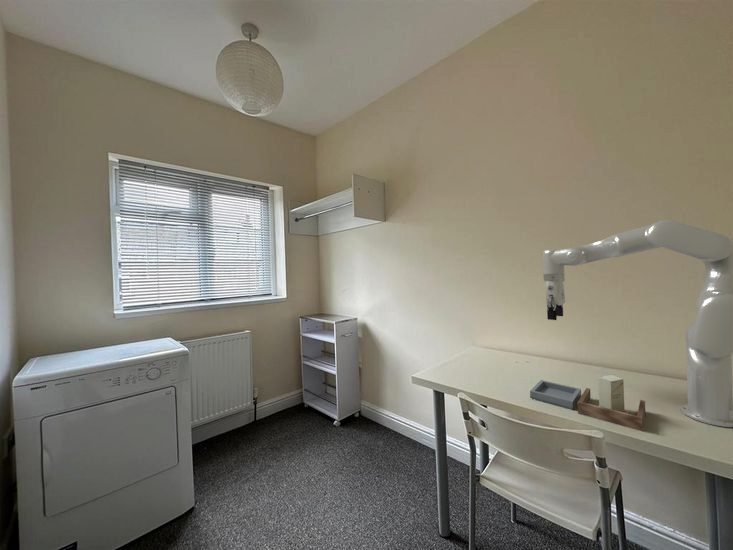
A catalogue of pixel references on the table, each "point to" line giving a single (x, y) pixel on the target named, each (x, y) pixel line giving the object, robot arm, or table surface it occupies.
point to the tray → (556, 394)
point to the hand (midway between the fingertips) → (555, 317)
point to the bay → (611, 413)
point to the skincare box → (611, 393)
